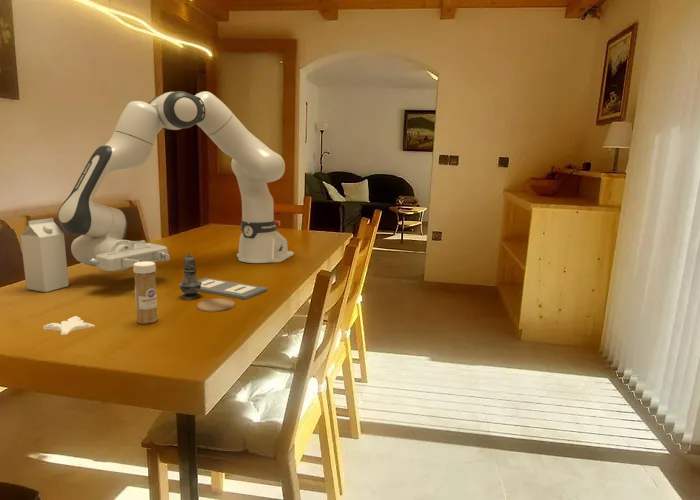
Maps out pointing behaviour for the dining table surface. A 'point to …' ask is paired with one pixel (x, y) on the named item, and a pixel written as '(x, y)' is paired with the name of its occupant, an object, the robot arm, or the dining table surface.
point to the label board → (230, 288)
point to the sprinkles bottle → (145, 292)
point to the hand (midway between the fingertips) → (154, 260)
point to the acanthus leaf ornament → (68, 325)
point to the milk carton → (44, 256)
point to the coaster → (215, 305)
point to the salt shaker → (190, 280)
